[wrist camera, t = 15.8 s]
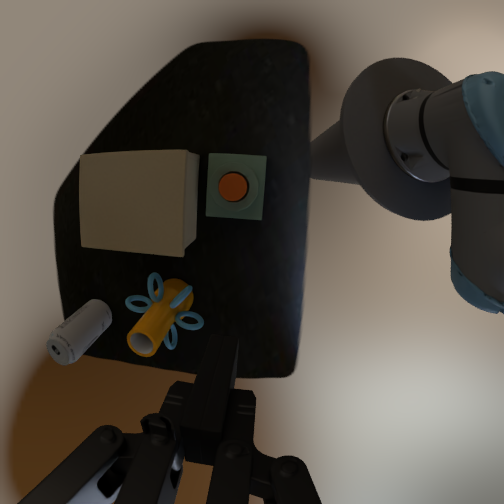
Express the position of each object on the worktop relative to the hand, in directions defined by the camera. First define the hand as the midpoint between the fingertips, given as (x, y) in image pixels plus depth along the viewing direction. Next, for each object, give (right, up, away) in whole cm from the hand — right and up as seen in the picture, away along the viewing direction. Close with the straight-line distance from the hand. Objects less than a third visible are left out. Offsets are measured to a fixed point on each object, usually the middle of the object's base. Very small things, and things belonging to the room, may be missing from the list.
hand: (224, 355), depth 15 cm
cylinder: (-11, -1, +31) cm, 33 cm away
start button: (-1, +14, +22) cm, 27 cm away
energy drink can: (-27, -6, +33) cm, 43 cm away
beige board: (-14, +12, +18) cm, 25 cm away
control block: (-1, +15, +25) cm, 29 cm away
